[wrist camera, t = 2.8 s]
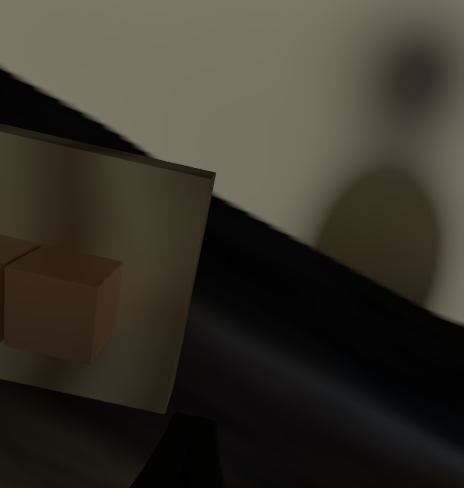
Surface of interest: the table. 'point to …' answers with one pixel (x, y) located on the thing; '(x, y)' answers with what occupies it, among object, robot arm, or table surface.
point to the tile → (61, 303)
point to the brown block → (4, 253)
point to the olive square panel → (109, 255)
